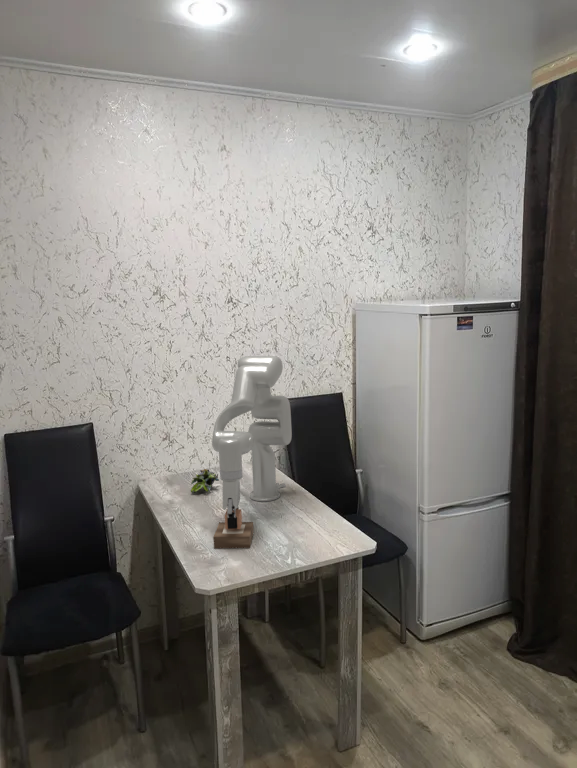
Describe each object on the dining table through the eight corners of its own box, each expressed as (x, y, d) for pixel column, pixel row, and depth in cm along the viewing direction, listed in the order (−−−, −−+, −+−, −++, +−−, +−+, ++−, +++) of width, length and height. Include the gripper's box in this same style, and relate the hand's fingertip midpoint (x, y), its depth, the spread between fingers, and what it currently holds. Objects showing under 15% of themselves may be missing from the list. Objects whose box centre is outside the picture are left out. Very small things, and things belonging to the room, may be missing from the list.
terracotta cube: (227, 523, 193) (226, 509, 192) (242, 523, 193) (241, 509, 192) (225, 529, 188) (224, 515, 187) (240, 529, 188) (239, 514, 187)
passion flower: (206, 500, 245) (219, 475, 247) (213, 503, 235) (226, 477, 238) (184, 489, 241) (197, 463, 244) (190, 492, 231) (203, 465, 234)
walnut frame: (219, 533, 198) (219, 521, 197) (253, 532, 197) (253, 521, 196) (214, 548, 186) (213, 536, 185) (250, 548, 185) (249, 536, 185)
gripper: (223, 466, 196) (226, 515, 199) (215, 482, 179) (218, 536, 182) (245, 465, 196) (247, 515, 199) (239, 482, 179) (241, 535, 182)
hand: (233, 524), depth 191 cm, fingers closed on terracotta cube, 4 cm apart
